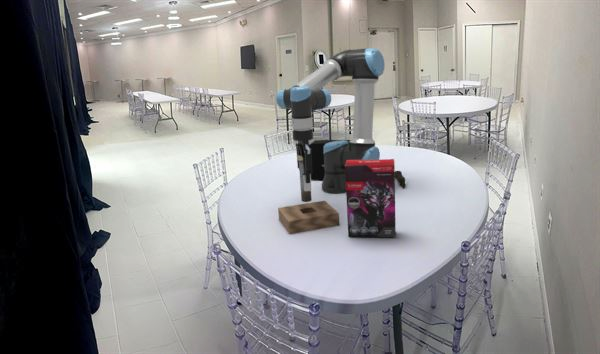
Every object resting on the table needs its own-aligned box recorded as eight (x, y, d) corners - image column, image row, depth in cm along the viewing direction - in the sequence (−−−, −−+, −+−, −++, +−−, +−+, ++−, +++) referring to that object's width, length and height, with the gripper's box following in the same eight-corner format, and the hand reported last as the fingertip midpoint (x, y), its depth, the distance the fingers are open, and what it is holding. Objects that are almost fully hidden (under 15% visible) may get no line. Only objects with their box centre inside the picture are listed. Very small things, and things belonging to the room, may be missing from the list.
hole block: (325, 211, 184) (324, 200, 183) (339, 225, 169) (338, 212, 168) (278, 219, 179) (278, 207, 178) (289, 233, 164) (288, 221, 163)
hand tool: (393, 177, 226) (393, 169, 224) (401, 177, 225) (401, 168, 224) (397, 189, 208) (397, 180, 206) (406, 189, 207) (406, 179, 206)
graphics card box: (347, 237, 158) (344, 164, 150) (348, 230, 164) (346, 159, 157) (395, 238, 154) (395, 163, 147) (395, 230, 161) (395, 158, 153)
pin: (310, 197, 175) (308, 153, 170) (314, 201, 170) (312, 155, 165) (298, 199, 173) (295, 154, 168) (302, 203, 168) (299, 157, 164)
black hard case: (307, 180, 230) (304, 143, 225) (313, 174, 241) (311, 138, 236) (364, 182, 221) (363, 143, 215) (368, 175, 232) (368, 138, 226)
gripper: (286, 126, 171) (290, 184, 177) (299, 133, 155) (303, 196, 161) (305, 125, 173) (308, 182, 179) (319, 131, 157) (322, 193, 163)
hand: (305, 188), depth 170 cm, fingers closed on pin, 4 cm apart
